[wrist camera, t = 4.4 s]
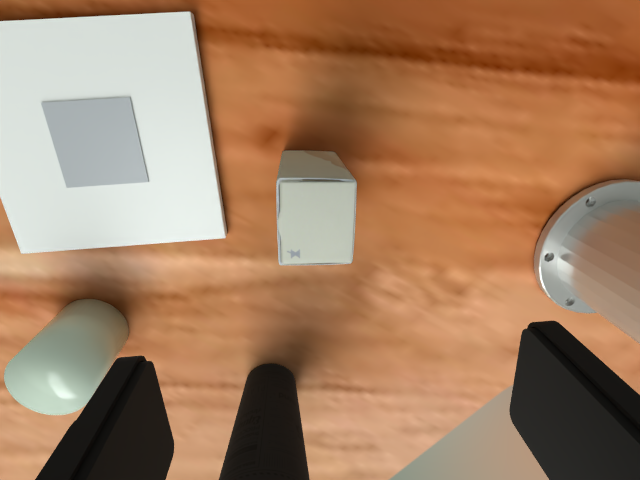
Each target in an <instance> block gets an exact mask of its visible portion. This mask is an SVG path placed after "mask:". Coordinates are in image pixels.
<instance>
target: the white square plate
mask: <svg viewBox="0 0 640 480" xmlns="http://www.w3.org/2000/svg"><path fill="white" fill-rule="evenodd" d="M0 197H1V200H2V203H3V205H4V208H5V211H6V213H7V216H8V219H9V221H10V224H11V227H12V229H13V232H14V235H15V238H16V240H17V243H18V246H19V248H20V251H21V254H24V253H37V252H50V251H63V250H77V249H90V248H103V247H116V246H129V245H142V244H155V243H168V242H181V241H194V240H207V239H220V238H226V236H227V228H226V222H225V215H224V209H223V202H222V196H221V189H220V183H219V176H218V170H217V163H216V157H215V150H214V144H213V137H212V131H211V124H210V118H209V111H208V105H207V98H206V92H205V85H204V79H203V72H202V66H201V59H200V53H199V46H198V40H197V33H196V27H195V20H194V14H193V13H191V12H171V13H151V14H132V15H112V16H93V17H73V18H53V19H34V20H14V21H0Z"/></svg>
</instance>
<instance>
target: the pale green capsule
mask: <svg viewBox="0 0 640 480" xmlns="http://www.w3.org/2000/svg"><path fill="white" fill-rule="evenodd" d="M128 336H129V328H128V324H127V321H126V319H125V318H124V316H123V315H122V314H121V313H120V311H118V310H117V309H116V308H115V307H113V306H112V305H110V304H108V303H106V302H103V301H100V300H96V299H80V300H76V301H74V302H71V303H70V304H68V305H67V306H66V307H64V308H63V309H62V310H61V311H60V312H59V313H58V314H57V315H56V316H55V317H54V318H53V319H52V320H51V321H50V322H49V323H48V324H47V325H46V326H45V327H44V328H43V329H42V330H41V331H40V332H39V333H38V334H37V335H36V336H35V337H34V338H33V339H32V340H31V341H30V342H29V343H28V344H27V345H26V346H25V347H24V348H23V349H22V350H21V351H20V352H19V353H18V354H17V355H16V356H15V357H14V358H13V359H12V360H11V361H10V362H9V363H8V365H7V367H6V369H5V373H4V380H5V384H6V387H7V389H8V391H9V392H10V394H11V395H12V396H13V397H14V399H15V400H17V401H18V402H19V403H20V404H22V405H23V406H25V407H27V408H28V409H31V410H33V411H36V412H39V413H42V414H48V415H64V414H69V413H73V412H75V411H77V410H79V409H81V408H82V407H84V406H85V405H86V404H87V403H88V401H89V400H90V398H91V397H92V395H93V394H94V392H95V390H96V389H97V387H98V386H99V384H100V383H101V381H102V379H103V378H104V376H105V375H106V373H107V372H108V370H109V368H110V367H111V365H112V364H113V362H114V361H115V359H116V357H117V356H118V354H119V353H120V351H121V350H122V348H123V346H124V345H125V343H126V341H127V339H128Z"/></svg>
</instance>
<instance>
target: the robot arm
mask: <svg viewBox="0 0 640 480" xmlns="http://www.w3.org/2000/svg"><path fill="white" fill-rule="evenodd" d="M534 271H535V276H536V280H537V282H538V284H539V286H540V288H541V289H542V291H543V292H544V293H545V294H546V295H547V297H549V298H550V299H551V300H552V301H554V302H555V303H556V304H557V305H559V306H561V307H562V308H564V309H567V310H570V311H574V312H578V313H599V314H600V315H601V316H603V317H604V318H605V319H607V320H608V321H609V322H611V323H612V324H613V325H615V326H616V327H617V328H619V329H620V330H621V331H623V332H624V333H626V334H627V335H628V336H630V337H631V338H632V339H634V340H635V341H636V342H638V343H639V344H640V181H636V180H628V179H620V180H610V181H606V182H602V183H598V184H596V185H594V186H591V187H589V188H587V189H584V190H583V191H581V192H580V193H578V194H576V195H575V196H573V197H572V198H570V199H569V200H568V201H567V202H566V203H565V204H563V205H562V206H561V207H560V208H559V209H558V210H557V211H556V212H555V214H554V215H553V216H552V217H551V218H550V219H549V221H548V223H547V224H546V226H545V228H544V229H543V231H542V233H541V235H540V238H539V240H538V242H537V245H536V250H535V255H534ZM510 416H511V420H512V422H513V424H514V426H515V427H516V429H517V431H518V432H519V434H520V435H521V437H522V438H523V440H524V441H525V443H526V444H527V446H528V447H529V449H530V450H531V452H532V454H533V455H534V457H535V458H536V460H537V461H538V463H539V464H540V466H541V467H542V469H543V471H544V472H545V473H546V475H547V477H548V478H549V480H640V395H639V394H638V393H637V392H635V391H634V390H633V389H632V388H631V387H630V386H629V385H628V384H627V383H625V382H624V381H623V380H622V379H621V378H620V377H619V376H618V375H616V374H615V373H614V372H613V371H612V370H611V369H610V368H609V367H608V366H606V365H605V364H604V363H603V362H602V361H601V360H600V359H599V358H597V357H596V356H595V355H594V354H593V353H592V352H591V351H590V350H589V349H587V348H586V347H585V346H584V345H583V344H582V343H581V342H580V341H578V340H577V339H576V338H575V337H574V336H573V335H572V334H571V333H569V332H568V331H567V330H566V329H565V328H564V327H563V326H562V325H561V324H559V323H558V322H556V321H543V322H532V323H530V324H529V325H528V328H527V329H524V330H523V331H522V335H521V341H520V347H519V354H518V360H517V366H516V372H515V379H514V385H513V391H512V397H511V404H510ZM173 453H174V440H173V436H172V432H171V428H170V425H169V421H168V417H167V413H166V409H165V406H164V402H163V398H162V394H161V390H160V387H159V383H158V379H157V375H156V371H155V368H154V364H153V363H152V361H146V359H145V357H144V356H133V357H121V358H118V359H116V361H115V362H114V363H113V365H112V366H111V368H110V369H109V371H108V373H107V374H106V376H105V377H104V379H103V380H102V382H101V383H100V385H99V386H98V388H97V390H96V391H95V393H94V394H93V396H92V397H91V399H90V400H89V402H88V403H87V405H86V406H85V408H84V410H83V411H82V413H81V414H80V416H79V417H78V419H77V420H76V421H74V423H73V424H72V425H71V426H70V427H69V429H68V430H67V432H66V434H65V435H64V437H63V438H62V440H61V441H60V443H59V444H58V446H57V447H56V449H55V450H54V452H53V453H52V455H51V456H50V458H49V459H48V461H47V463H46V464H45V466H44V467H43V469H42V470H41V472H40V473H39V475H38V476H37V478H36V479H35V480H165V479H166V476H167V473H168V470H169V467H170V464H171V461H172V458H173Z"/></svg>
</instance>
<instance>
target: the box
mask: <svg viewBox="0 0 640 480" xmlns="http://www.w3.org/2000/svg"><path fill="white" fill-rule="evenodd" d="M356 187H357V182H356V180H355V179H354V177H353V176H352V175H351V173H350V172H349V170H348V169H347V168H346V166H345V165H344V164H343V162H342V161H341V159H340V158H339V157H338V155H337V154H336V153H335V152H332V151H306V150H288V151H283V152H282V156H281V161H280V166H279V171H278V176H277V182H276V199H277V236H278V261H279V264H280V265H334V264H350V263H352V260H353V249H354V236H355V219H356Z"/></svg>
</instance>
